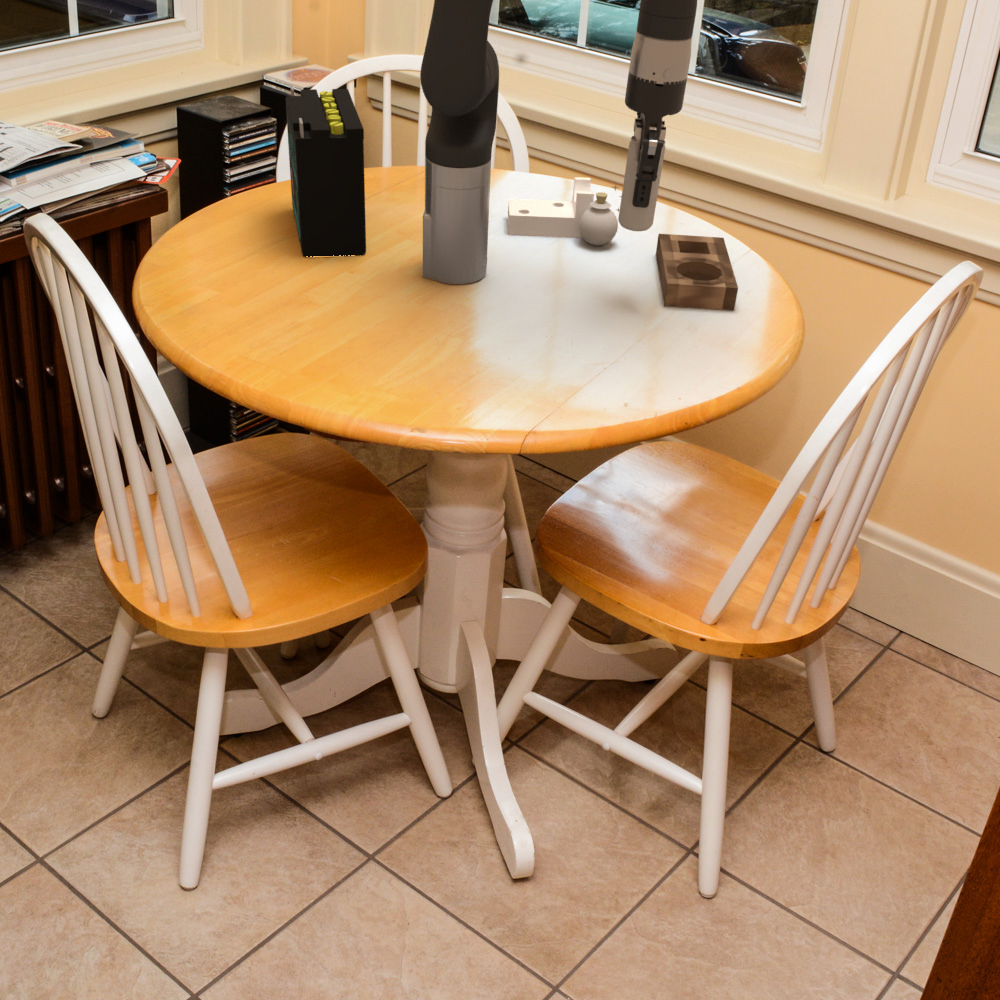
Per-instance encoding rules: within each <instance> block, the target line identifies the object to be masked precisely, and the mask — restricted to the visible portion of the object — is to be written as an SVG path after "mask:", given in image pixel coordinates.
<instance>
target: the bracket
mask: <svg viewBox="0 0 1000 1000" xmlns="http://www.w3.org/2000/svg"><path fill="white" fill-rule="evenodd" d="M573 179H574V180H573V188H572V189H573V191H572V200H571V201H570V200H569V201H568V200H550V199H549V200H548V199H547V200H545V199H544V200H543V199H522V198H521V199H520V198H519V199H518V198H508V206H507V222H508V223H507V234H508V236H519V237H520V236H523V237H525V236H526V237H527V236H528V237H543V238H544V237H545V238H547V237H549V238H576V239H584V238H583V237H582V235H581V233H580V230H579V222H580V219H581V216H582V215H583V213H584V212H585V211H586V210H587V209H589V208H591V207H592V206H591V205H590V203H591V202H593V201H594V197H595V193H594V191H591V186H592V185H591V184H592V183H591V181H592V179H591V177H579V176H578V177H574V178H573Z"/></svg>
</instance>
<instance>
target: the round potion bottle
mask: <svg viewBox="0 0 1000 1000" xmlns="http://www.w3.org/2000/svg"><path fill="white" fill-rule="evenodd" d="M612 188H613V189H614V191H616V189H620V187H619V186H617V184H615V185H614V186H612ZM595 196H596V199H595V200H593V202H591V203H590V205H591V206H592V207H591V208H589V209H587V210H586V211H585V212H584V213H583V215H582V216H581V219H580V222H579V230H580V233H581V235H582V237H583V238H582V239H584V241H585V242H587V243H588V244H590V245H594V246H603V245H606V244H608V243H609V242H611V241H612V240H613V239H614V238H615V236H616V234H617V232H618V228H619V226H618V224H619V221H618V218H617V216H616V214H615V212H614V211H613V210H611V209H610V208H611V207H612V204H611V203H610V202H608V201H607V197H608V193H606V192H601V191H600V192H596V193H595ZM621 197H622V195H620V196H619V198H621ZM616 211H617V212H618V213H619V211H620V207H618V208H617V209H616Z"/></svg>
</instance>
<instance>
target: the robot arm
mask: <svg viewBox="0 0 1000 1000" xmlns="http://www.w3.org/2000/svg"><path fill="white" fill-rule="evenodd" d="M493 2H494V0H434V1H433V8H432V14H431V17H430V18H431V19H430V24H429V28H428V33H427V34H428V35H427V38H426V42H425V43H426V44H425V47H424V52H423V56H422V62H421V66H420V75H419V76H420V77H419V78H420V84H421V89H422V93H423V95H424V97H425V100H426V101H427V103H428V104H429V105H430V106H431V115H430V120H429V121H430V122H429V125H428V129H427V132H426V136H425V140H424V141H425V144H424V145H425V147H424V148H425V149H424V152H425V153H424V155H425V156H424V157H425V158H424V159H425V161H424V162H425V163H424V170H425V171H424V211H423V215H422V278H425V279H431V280H433V281H435V282H438V283H439V282H440V283H443V284H448V285H464V284H472V283H475V282H478V281H480V280H482V279H483V278H484V277H485V276H486V275H487V266H488V264H487V263H488V243H489V241H488V240H489V239H488V238H489V219H490V218H489V217H490V200H491V199H490V198H491V197H490V196H491V195H490V193H491V171H492V170H491V169H492V151H493V143H494V139H495V135H496V129H497V128H496V127H497V117H498V106H499V105H498V103H499V102H498V101H499V89H500V88H499V86H500V65H499V60H498V59H499V58H498V57H497V53H496V51H495V49H494V47H493V46H492V44H491V43H490V41H488V37H489V27H490V18H491V13H492V6H493ZM697 8H698V0H640V4H639V11H638V16H637V17H638V18H637V26H636V31H635V36H634V39H633V44H632V47H631V52H630V53H631V54H630V60H629V61H630V62H629V67H628V68H629V69H628V74H627V75H628V76H627V83H626V90H625V95H624V96H625V97H624V103H625V106H626V107H627V108H628V109H630V110H631V111H633V112H636V116H637V117H635V118H634V122H633V133H634V134H633V136H634V135H635V138H636V144H635V152H634V160H635V161H636V162H637V168H636V173H635V186H634V193H633V200H632V204H633V206H634V207H641V208H646V207H648V205H649V200H650V194H651V188H652V181H654V182H655V181H656V179H657V171H658V166H659V162H660V160H661V152H662V147H663V144H664V143H663V140H665V139H666V134H667V127H666V126H665V124H666V123H665V120H663V118H665V117H666V116H673V115H676V114H679V113H680V112H681V110H682V109H683V104H684V100H685V99H684V98H685V94H686V93H685V92H686V86H687V83H688V75H689V69H690V64H691V57H692V39H693V34H694V27H695V20H696V15H697ZM639 149H641V155H640V153H639ZM644 166H651V171H642V170H643V167H644Z"/></svg>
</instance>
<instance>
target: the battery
mask: <svg viewBox="0 0 1000 1000" xmlns="http://www.w3.org/2000/svg"><path fill="white" fill-rule="evenodd" d="M289 88H290V95H288V96H286V97H285V99H284V100H285V113H286V127H287V128H286V130H287V141H288V142H287V143H288V158H289V159H288V160H289V173H290V189H291V190H290V191H291V204H292V210H293V215H294V217H293V218H294V220H295V227H296V230H297V231H296V232H297V235H298V240H299V246H300V250H301V255H302V256H303V257H304V256H305V257H306V256H308V257H310V256H312V257H313V256H333V255H334V256H339V255H341V256H343V255H344V257H352V256H351V255H355V256H354V257H361V256H363V255H366V251H367V233H366V232H367V231H366V229H367V227H366V196H365V195H366V193H365V192H366V188H365V184H366V183H365V158H364V157H365V154H364V151H365V149H364V148H365V147H364V143H365V142H364V138H365V131H364V127H363V124H362V122H361V119H360V116H359V113H358V111H357V109H356V106H355V104H354V101H353V98H352V96H351V94H350V92H349V88H332V89H331V90H332V92H331V91H328V90H327V91H321V92H319V93H318V90H317V89H315V88H313V89H311V88H310V89H300V95H295V89H294V84H290V87H289ZM345 255H346V256H345ZM348 255H350V256H348ZM360 255H361V256H360ZM305 257H304V258H305Z"/></svg>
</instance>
